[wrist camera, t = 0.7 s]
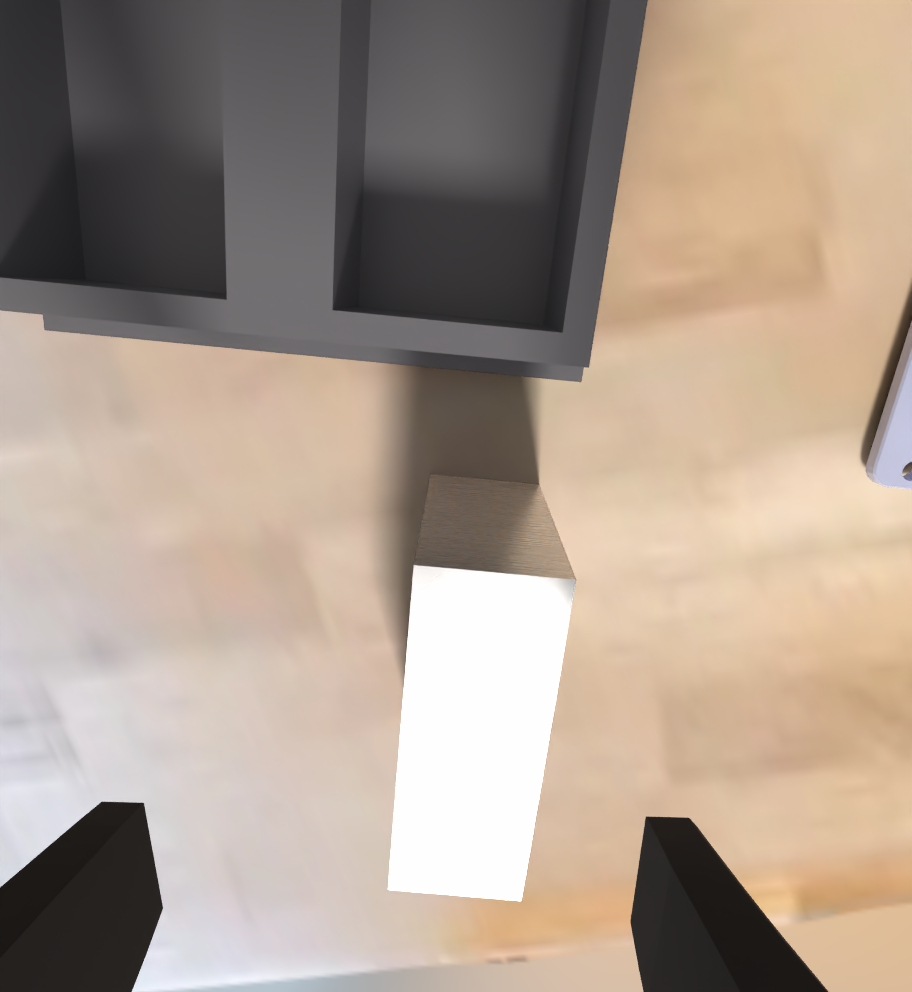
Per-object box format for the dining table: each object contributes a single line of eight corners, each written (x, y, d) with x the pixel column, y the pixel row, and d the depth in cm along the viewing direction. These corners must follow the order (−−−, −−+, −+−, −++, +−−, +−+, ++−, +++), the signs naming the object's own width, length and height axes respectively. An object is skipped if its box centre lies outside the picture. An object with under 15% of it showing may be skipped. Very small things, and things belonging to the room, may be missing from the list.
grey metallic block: (538, 483, 17) (576, 580, 11) (504, 723, 20) (520, 900, 14) (430, 473, 17) (413, 565, 11) (410, 714, 19) (388, 890, 14)
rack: (667, -234, 12) (760, -472, 8) (574, 376, 16) (608, 403, 12) (5, -310, 12) (-208, -589, 8) (70, 327, 16) (-56, 339, 12)
